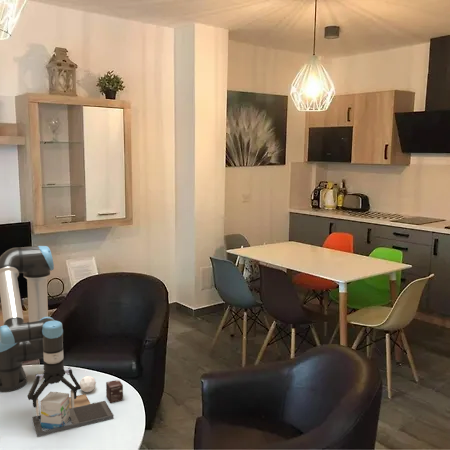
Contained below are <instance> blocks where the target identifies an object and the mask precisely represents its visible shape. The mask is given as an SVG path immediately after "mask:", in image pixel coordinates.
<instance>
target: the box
mask: <svg viewBox="0 0 450 450" xmlns="http://www.w3.org/2000/svg"><path fill="white" fill-rule="evenodd" d="M105 388H106V389H105V390H106V392H105V394H106V396H105V397H106V399H107V400H108V402H109V403H110V404H112V403H116V402H121V401H124V385H123V383H122V382H121V380H120V379H117V380H111V381H106V382H105Z"/></svg>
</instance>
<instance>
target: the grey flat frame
mask: <svg viewBox="0 0 450 450" xmlns="http://www.w3.org/2000/svg"><path fill="white" fill-rule="evenodd" d="M69 411H70V420H69V422H70V423H71V424H67V425H66V424H65V425H64V426H62V427H57V428H53V429H46V430H43V428H42V427H41V414H39V416H37V415H35V416H32V418H31V421H32V424H33V427H34V431H35V434H36V437H37V438H39V437H43V436H48V435H51V434H56V433H59V432H63V431H67V430H68V431H69V430H71V429H75V428H80V427H85V426H89V425H92V424H96V423H100V422H105V421H109V420H113V419H114V416H115V415H114V413H113V412H112V410H111V409H110V407H109V405H108V403H107V402H106V400H103V401H96V402H93V403H91V404H88V405H83V406H79V407H75V408H70V409H69ZM114 420H115V419H114Z"/></svg>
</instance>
